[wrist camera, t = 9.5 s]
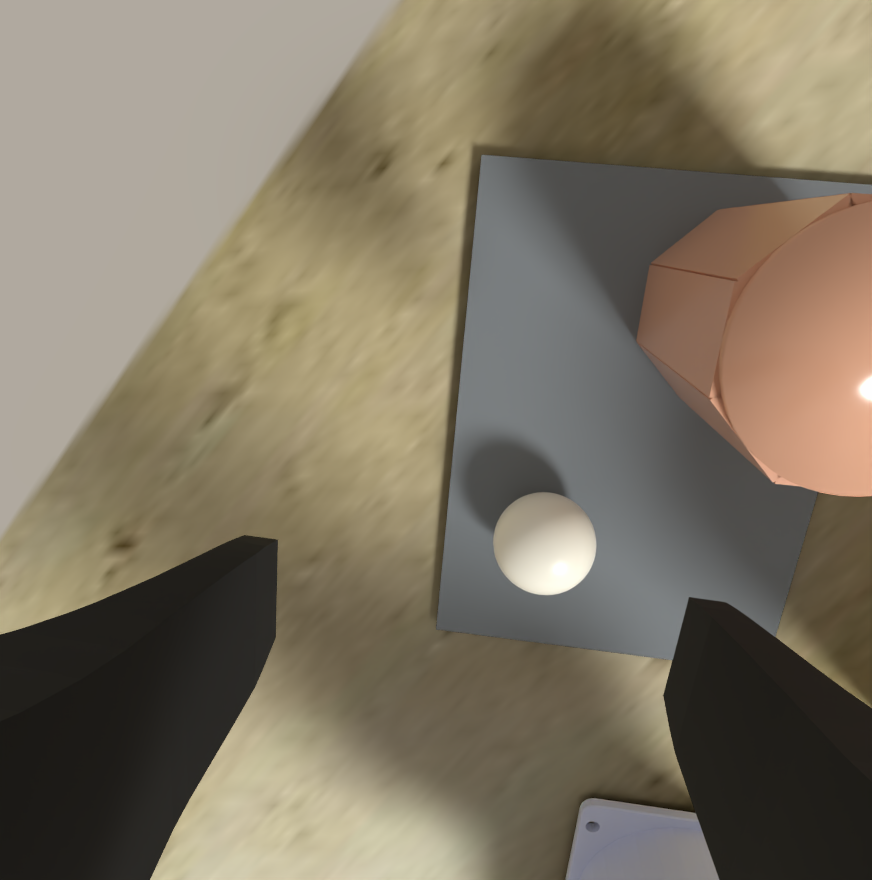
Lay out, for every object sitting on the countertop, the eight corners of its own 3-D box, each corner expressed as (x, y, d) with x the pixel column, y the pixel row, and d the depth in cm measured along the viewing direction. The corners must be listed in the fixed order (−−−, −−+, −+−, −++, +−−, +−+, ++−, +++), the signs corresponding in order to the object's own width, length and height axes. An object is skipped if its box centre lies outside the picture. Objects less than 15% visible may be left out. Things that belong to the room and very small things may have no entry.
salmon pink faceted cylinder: (809, 410, 18) (988, 511, 11) (626, 393, 18) (696, 480, 12) (862, 220, 16) (1104, 209, 10) (659, 204, 17) (762, 185, 10)
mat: (760, 664, 21) (764, 672, 21) (437, 622, 22) (436, 629, 22) (899, 188, 17) (908, 187, 16) (482, 156, 17) (481, 154, 17)
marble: (581, 568, 20) (594, 622, 18) (489, 557, 21) (487, 608, 18) (596, 483, 19) (612, 525, 17) (499, 472, 20) (498, 511, 17)
